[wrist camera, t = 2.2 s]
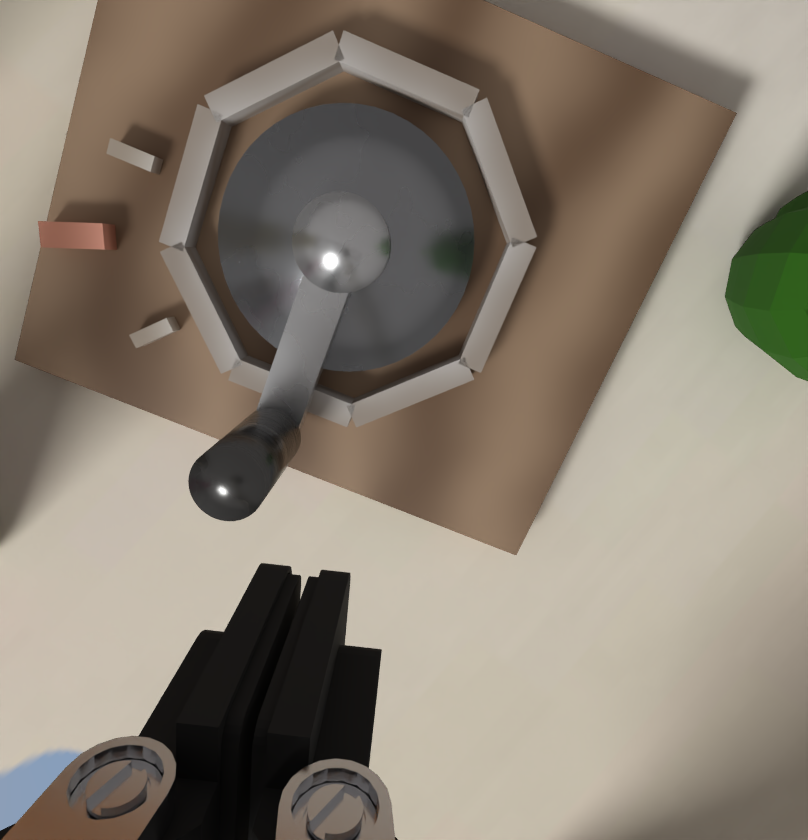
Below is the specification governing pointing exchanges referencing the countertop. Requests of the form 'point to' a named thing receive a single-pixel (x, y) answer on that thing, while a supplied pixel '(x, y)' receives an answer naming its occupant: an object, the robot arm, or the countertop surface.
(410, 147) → the dial
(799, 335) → the bell pepper
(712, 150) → the board
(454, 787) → the countertop surface
